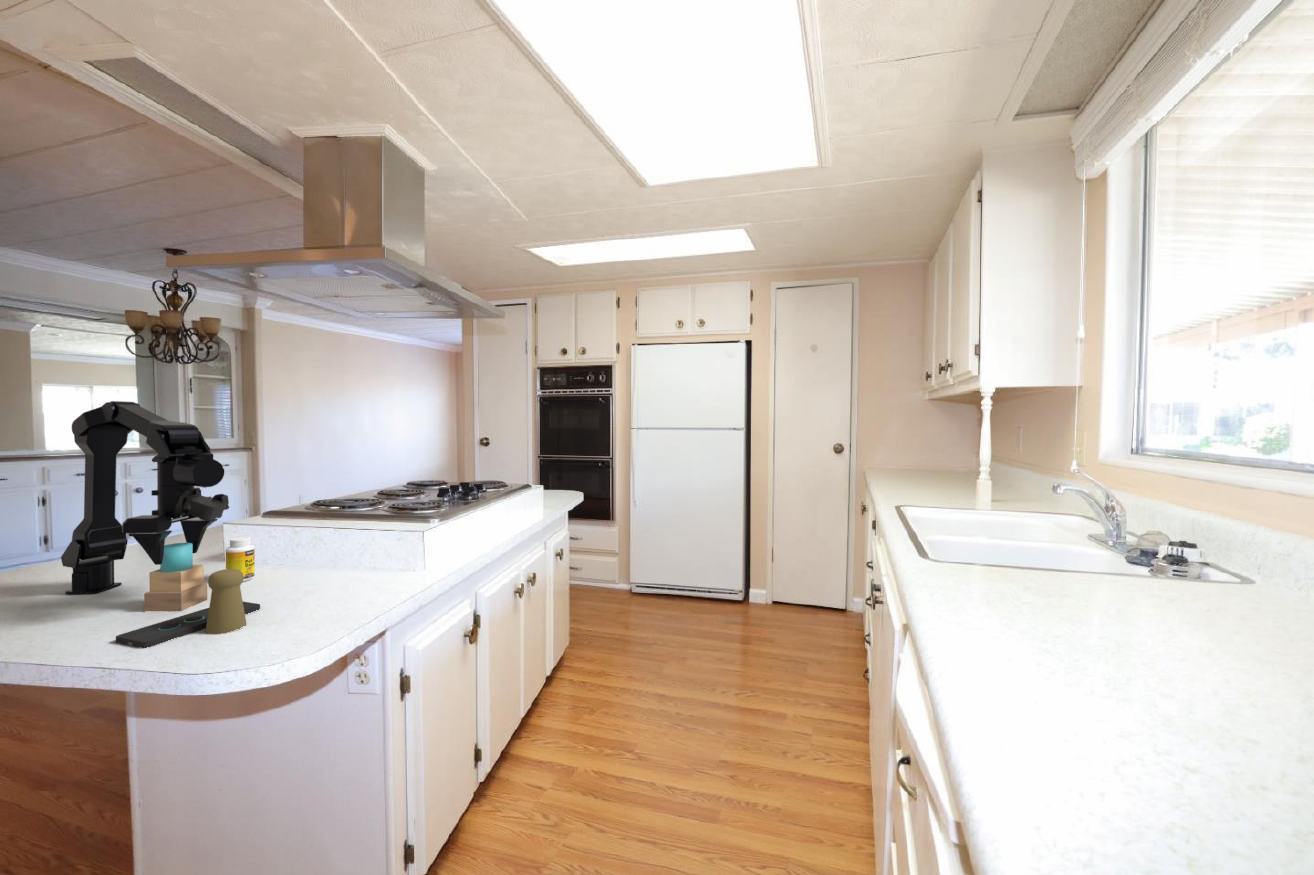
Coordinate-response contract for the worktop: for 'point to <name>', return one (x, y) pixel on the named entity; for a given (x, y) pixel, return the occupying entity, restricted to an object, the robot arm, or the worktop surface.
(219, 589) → the olive pawn piece
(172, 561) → the teal cylinder
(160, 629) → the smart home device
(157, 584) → the oak top block
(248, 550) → the supplement bottle
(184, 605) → the brown wooden base block
